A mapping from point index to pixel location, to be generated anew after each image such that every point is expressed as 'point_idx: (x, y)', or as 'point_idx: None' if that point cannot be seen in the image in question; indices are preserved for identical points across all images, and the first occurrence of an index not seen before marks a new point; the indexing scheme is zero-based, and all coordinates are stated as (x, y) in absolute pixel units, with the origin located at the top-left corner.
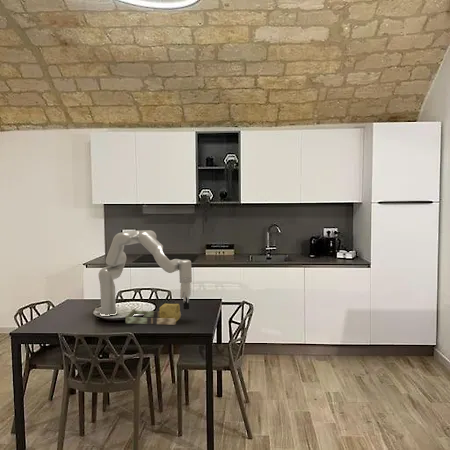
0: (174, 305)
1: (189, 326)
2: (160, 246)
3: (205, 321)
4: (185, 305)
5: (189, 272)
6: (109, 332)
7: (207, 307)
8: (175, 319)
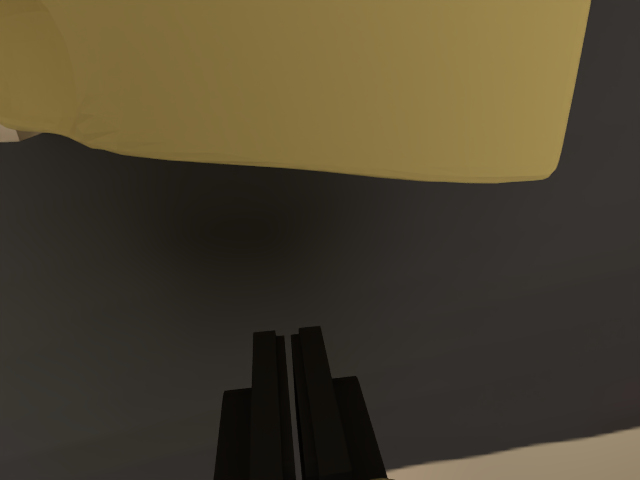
0: (294, 40)
1: (40, 341)
2: None
3: None
4: (221, 466)
5: None
6: None
7: None
8: (9, 139)
